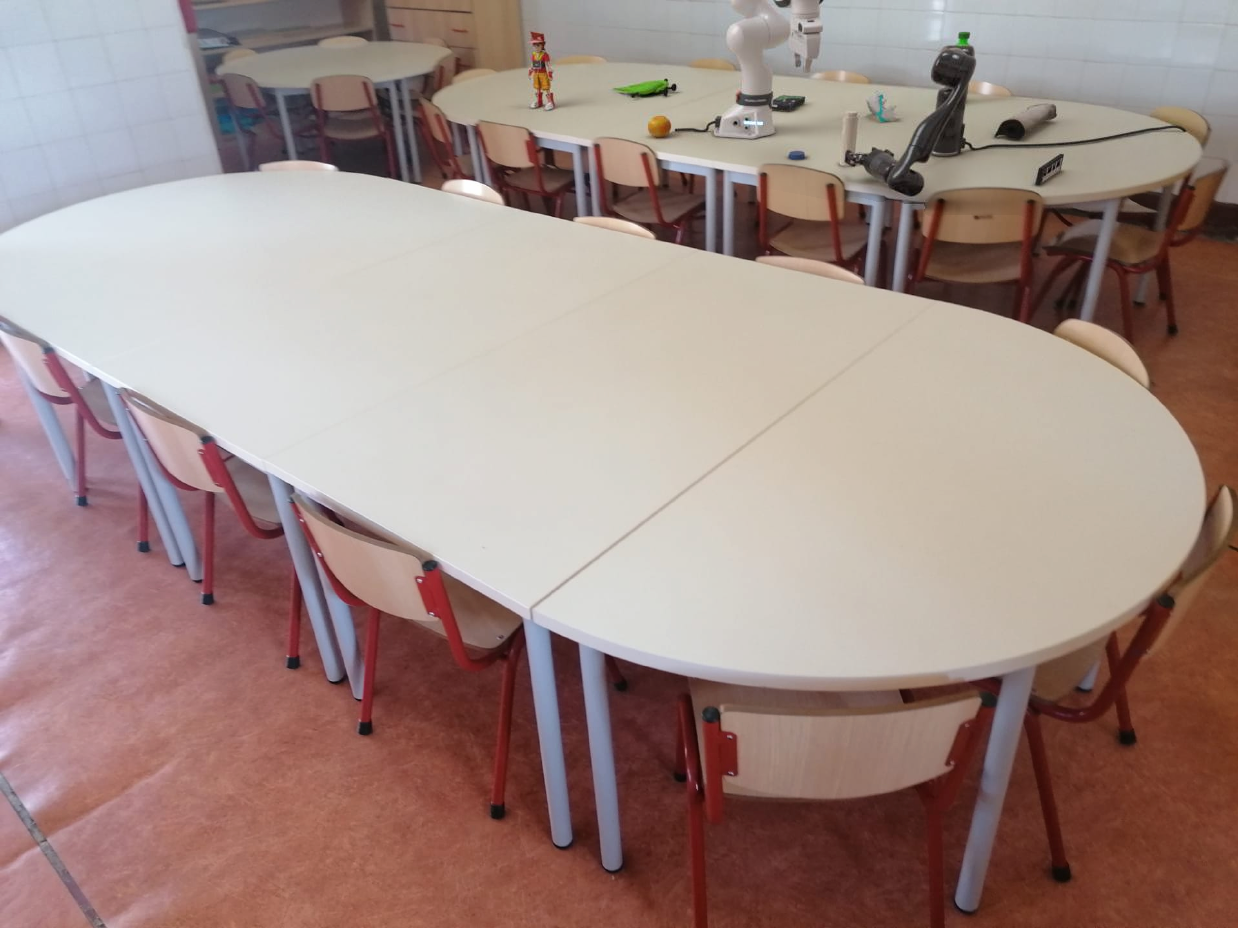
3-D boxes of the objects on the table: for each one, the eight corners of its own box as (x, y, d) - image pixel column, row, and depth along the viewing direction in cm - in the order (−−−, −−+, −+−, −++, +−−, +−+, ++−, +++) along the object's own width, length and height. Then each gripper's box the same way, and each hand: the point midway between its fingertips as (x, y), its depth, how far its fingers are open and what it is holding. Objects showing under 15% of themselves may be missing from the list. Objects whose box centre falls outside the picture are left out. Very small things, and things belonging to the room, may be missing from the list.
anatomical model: (861, 90, 342) (887, 83, 342) (863, 118, 348) (889, 111, 348) (873, 100, 330) (900, 92, 329) (875, 128, 336) (902, 121, 335)
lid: (796, 154, 308) (796, 150, 308) (807, 157, 305) (808, 153, 304) (785, 157, 306) (785, 153, 305) (796, 161, 302) (797, 156, 302)
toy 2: (686, 85, 398) (631, 84, 414) (685, 72, 395) (629, 72, 411) (651, 104, 381) (596, 103, 397) (650, 92, 378) (594, 91, 394)
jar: (846, 167, 294) (850, 114, 285) (836, 163, 298) (841, 111, 288) (857, 164, 296) (862, 112, 286) (847, 161, 299) (852, 109, 290)
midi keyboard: (1039, 185, 269) (1043, 168, 266) (1035, 184, 270) (1038, 168, 267) (1060, 170, 279) (1064, 154, 277) (1056, 169, 280) (1060, 153, 277)
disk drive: (790, 112, 355) (805, 103, 365) (791, 105, 353) (805, 96, 363) (766, 110, 360) (781, 101, 370) (766, 103, 358) (781, 94, 368)
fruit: (641, 128, 333) (652, 109, 330) (648, 131, 340) (659, 112, 337) (658, 141, 331) (670, 121, 328) (665, 143, 339) (677, 124, 336)
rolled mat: (1024, 108, 329) (1048, 91, 321) (1038, 129, 330) (1062, 112, 321) (990, 131, 312) (1014, 113, 304) (1004, 153, 312) (1029, 136, 304)
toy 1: (525, 109, 381) (517, 32, 364) (534, 104, 388) (527, 28, 371) (550, 110, 377) (543, 32, 360) (559, 105, 384) (553, 28, 367)
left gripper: (785, 18, 290) (783, 64, 298) (804, 28, 273) (801, 76, 281) (804, 17, 290) (801, 62, 298) (824, 26, 274) (821, 75, 281)
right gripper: (905, 150, 271) (882, 137, 284) (860, 155, 269) (839, 142, 282) (902, 175, 275) (879, 161, 289) (858, 180, 273) (837, 166, 287)
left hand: (801, 69), depth 289 cm, fingers open, 8 cm apart
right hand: (859, 151), depth 285 cm, fingers open, 8 cm apart
